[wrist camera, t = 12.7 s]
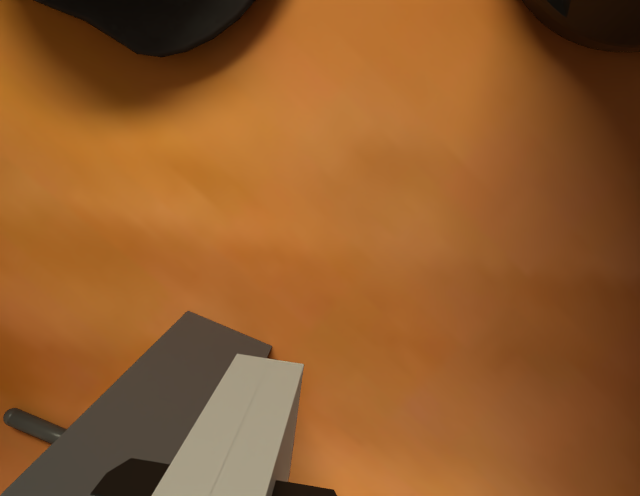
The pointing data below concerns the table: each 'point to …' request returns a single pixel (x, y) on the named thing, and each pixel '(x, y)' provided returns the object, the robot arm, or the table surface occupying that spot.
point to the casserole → (156, 21)
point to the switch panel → (135, 410)
